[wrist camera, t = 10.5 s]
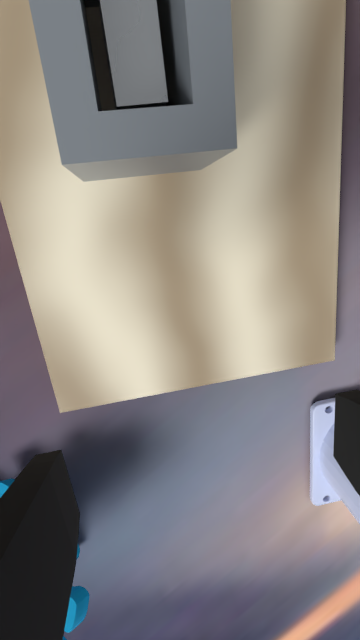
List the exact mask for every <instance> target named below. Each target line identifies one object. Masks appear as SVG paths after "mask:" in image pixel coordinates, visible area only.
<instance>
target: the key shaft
mask: <svg viewBox="0 0 360 640" xmlns="http://www.w3.org/2000/svg"><path fill="white" fill-rule="evenodd" d="M98 1H99V9H100V17H101V25H102V31H103V37H104V43H105V49H106V56H107V62H108V68H109V74H110V80H111V86H112V93H113V99H114V105H115V110H123V109H136V108H149V107H162V106H167V104H168V96H167V87H166V78H165V70H164V61H163V53H162V44H161V35H160V27H159V18H158V9H157V1H156V0H98Z"/></svg>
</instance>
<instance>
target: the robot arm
mask: <svg viewBox="0 0 360 640" xmlns="http://www.w3.org/2000/svg"><path fill="white" fill-rule="evenodd" d="M328 406H329V408H328V409H326V407H328ZM325 409H326V410H325ZM310 500H311V501H312V503H313V504H314V505H316V506H318V505H323V504H327V503H332V502H336V501H340V500H342V501H343V503H344V504H345V505H346V507H347V508H348V509H349V511H350V512H351V513H352V515H353V516H354V517H355V519H356V520H357V521H358V523H359V524H360V391H359V390H353V391H348V392H343V393H338V394H335V398H331V399H326V400H321V401H317V402H315V403H314V404H313V405H312V406H311V409H310ZM79 517H80V512H79V509H78V506H77V502H76V499H75V495H74V492H73V488H72V485H71V482H70V478H69V475H68V471H67V468H66V465H65V461H64V458H63V454H62V451H61V450H58V451H53V452H48V453H43V454H38V455H35V456H34V458H33V459H32V460H31V461H30V462H29V463H28V465H27V466H26V467H25V468H24V469H23V471H22V472H21V473H20V474H19V475H18V477H17V478H16V479H15V480H14V482H13V483H12V484H11V485H10V486H9V488H8V489H7V490H6V491H5V493H4V494H3V495H2V496H1V497H0V640H63V634H64V629H65V623H66V617H67V612H68V606H69V601H70V595H71V589H72V583H73V578H74V572H75V566H76V560H77V548H78V534H79Z"/></svg>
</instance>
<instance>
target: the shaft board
mask: <svg viewBox="0 0 360 640" xmlns="http://www.w3.org/2000/svg"><path fill="white" fill-rule="evenodd" d="M85 8H86V15H87V21H88V27H89V34H90V40H91V46H92V52H93V59H94V65H95V71H96V77H97V84H98V90H99V96H100V103H101V109H102V111H110V110H115V105H114V99H113V93H112V86H111V80H110V74H109V68H108V62H107V56H106V49H105V43H104V37H103V31H102V25H101V17H100V9H99V7H85ZM345 15H346V0H231V20H232V42H233V64H234V86H235V108H236V129H237V149H235V150H234V151H232V152H230V153H229V154H227V155H225V156H224V157H222V158H220V159H219V160H217V161H215V162H213V163H212V164H210V165H208V166H207V167H205V168H203V169H202V170H196V171H186V172H176V173H166V174H156V175H146V176H136V177H126V178H116V179H106V180H96V181H87V182H83V181H82V180H81V179H79V178H78V177H77V176H76V175H74V174H73V173H72V172H70V171H69V170H68V169H67V168H65V167H64V166H63V165H62V163H61V158H60V153H59V148H58V144H57V139H56V134H55V129H54V124H53V119H52V114H51V109H50V104H49V99H48V94H47V89H46V84H45V79H44V74H43V69H42V64H41V59H40V55H39V50H38V45H37V40H36V35H35V30H34V25H33V20H32V15H31V10H30V5H29V0H0V200H1V204H2V208H3V211H4V215H5V218H6V222H7V225H8V229H9V232H10V236H11V240H12V243H13V247H14V250H15V254H16V257H17V261H18V264H19V268H20V272H21V275H22V279H23V282H24V286H25V289H26V293H27V296H28V300H29V304H30V307H31V311H32V314H33V318H34V321H35V325H36V328H37V332H38V336H39V339H40V343H41V346H42V350H43V353H44V357H45V360H46V364H47V368H48V371H49V375H50V378H51V382H52V385H53V389H54V392H55V396H56V400H57V403H58V407H59V410H60V413H62V412H67V411H72V410H77V409H83V408H88V407H93V406H98V405H104V404H109V403H114V402H119V401H124V400H130V399H135V398H140V397H145V396H151V395H156V394H161V393H166V392H172V391H177V390H182V389H187V388H192V387H198V386H203V385H208V384H213V383H219V382H224V381H229V380H234V379H239V378H245V377H250V376H255V375H260V374H266V373H271V372H276V371H281V370H286V369H292V368H297V367H302V366H307V365H313V364H318V363H323V362H328V361H334V360H335V332H336V300H337V269H338V237H339V205H340V174H341V142H342V110H343V78H344V47H345Z"/></svg>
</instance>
